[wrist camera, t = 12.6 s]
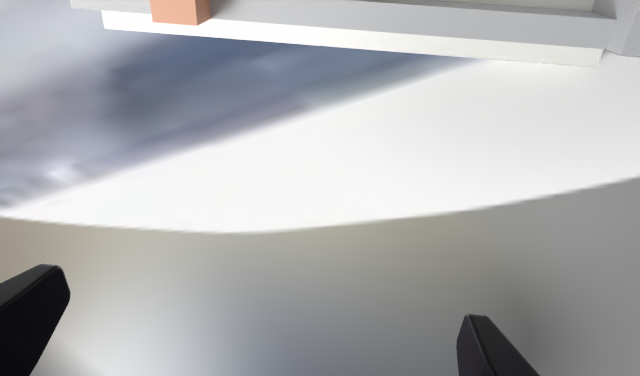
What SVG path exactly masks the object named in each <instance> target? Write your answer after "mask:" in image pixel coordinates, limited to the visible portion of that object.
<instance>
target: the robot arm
mask: <svg viewBox="0 0 640 376" xmlns="http://www.w3.org/2000/svg"><path fill="white" fill-rule="evenodd" d="M69 300H70V290H69V286H68V283H67V281H66V278H65V274H64V271H63V269H62V268H61V267H60V266H57V265H48V264H41V265H38V266H35V267H33V268H31V269H29V270H27V271H25V272H23V273H21V274H19V275H17V276H15V277H13V278H11V279H9V280H6V281H4V282H2V283H0V376H29V375H30V374H31V372H32V371H33V369H34V367H35V366H36V364H37V362H38V360H39V359H40V357H41V355H42V353H43V351H44V349H45V347H46V345H47V344H48V342H49V340H50V338H51V336H52V334H53V332H54V330H55V328H56V326H57V324H58V322H59V320H60V319H61V317H62V315H63V313H64V311H65V309H66V307H67V305H68V303H69ZM456 349H457V360H458V371H459V376H540V375H539V374H538V373H537V372H536V370H534V368H533V367H532V366H531V365H530V364H529V363H528V361H527V360H526V359H525V358H524V357H523V356H522V355H521V354H520V352H519V351H518V350H517V349H516V348H515V347H514V346H513V344H512V343H511V342H510V341H509V340H508V339H507V338H506V337H505V335H503V333H502V332H501V331H500V330H499V328H498V327H497V326H496V325H495V324H494V323H493V322H492V321H491V319H490V318H489V317H487V316H486V315H482V314H475V313H467V314H466V315H465V317H464V320H463V322H462V326H461V329H460V332H459V335H458V338H457V346H456Z"/></svg>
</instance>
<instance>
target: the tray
mask: <svg viewBox="0 0 640 376" xmlns="http://www.w3.org/2000/svg"><path fill="white" fill-rule="evenodd" d="M70 4H71V8H77V9H90V10H101V11H102V17H103V22H104V27H105V29H116V30H129V31H142V32H154V33H167V34H179V35H192V36H204V37H217V38H230V39H242V40H255V41H267V42H280V43H292V44H305V45H318V46H330V47H343V48H355V49H368V50H380V51H393V52H406V53H418V54H431V55H443V56H456V57H468V58H481V59H494V60H506V61H519V62H531V63H544V64H556V65H569V66H582V67H594V68H597V66H598V63H599V61H600V58H601V55H602V53H603V50H604V49H606V50H608V51H610V52H612V53H615V54H617V55H619V56H628V57H640V0H70Z"/></svg>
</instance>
